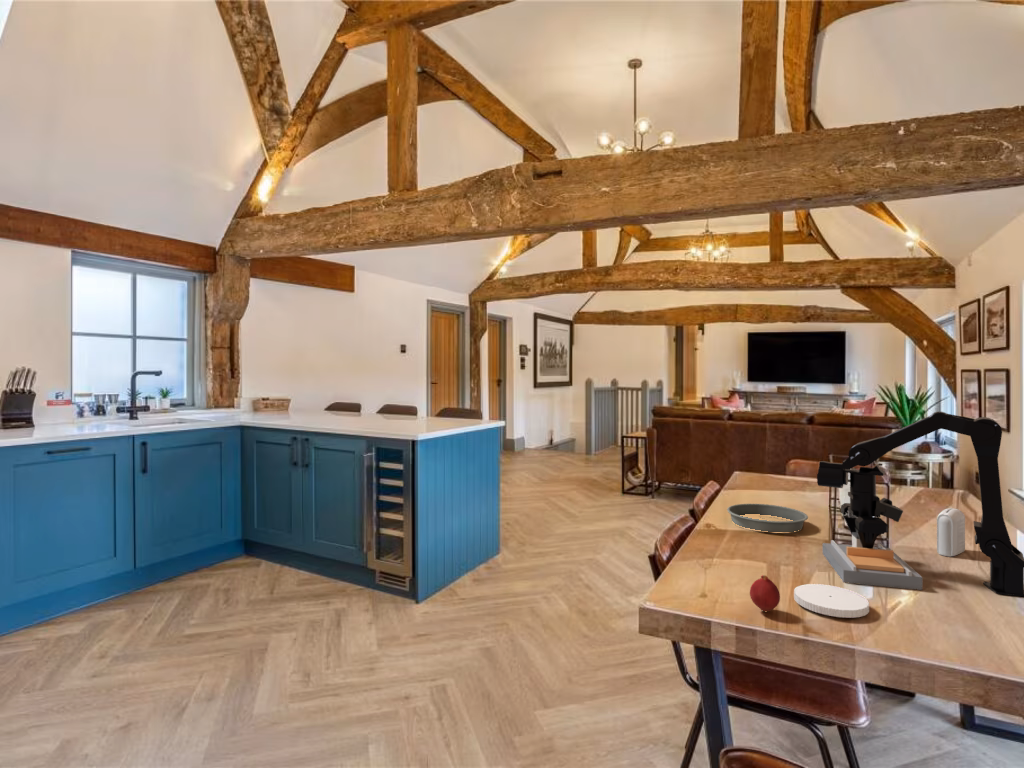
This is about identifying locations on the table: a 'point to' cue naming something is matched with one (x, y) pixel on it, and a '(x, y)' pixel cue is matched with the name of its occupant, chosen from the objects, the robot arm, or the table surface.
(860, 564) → the shutter
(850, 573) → the socket plate
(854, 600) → the plastic lid
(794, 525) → the cake pan
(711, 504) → the table surface
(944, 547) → the photo printer
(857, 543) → the plug
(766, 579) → the onion
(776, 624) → the table surface
